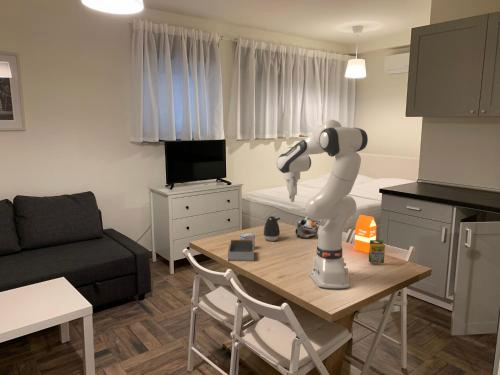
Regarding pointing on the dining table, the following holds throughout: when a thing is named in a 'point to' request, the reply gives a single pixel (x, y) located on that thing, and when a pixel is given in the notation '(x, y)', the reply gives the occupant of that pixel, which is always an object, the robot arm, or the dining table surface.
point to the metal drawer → (241, 250)
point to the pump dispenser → (271, 229)
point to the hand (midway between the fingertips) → (291, 200)
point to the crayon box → (376, 251)
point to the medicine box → (248, 238)
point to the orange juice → (364, 233)
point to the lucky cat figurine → (306, 228)
